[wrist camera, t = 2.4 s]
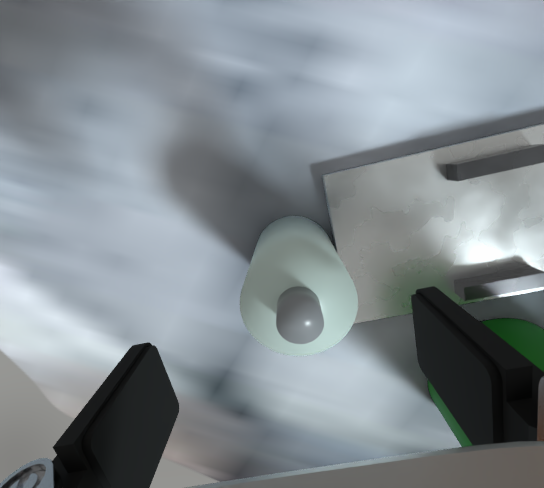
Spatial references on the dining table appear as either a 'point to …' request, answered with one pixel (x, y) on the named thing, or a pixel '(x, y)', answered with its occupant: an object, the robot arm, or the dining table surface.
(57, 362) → the dining table surface
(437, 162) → the clip bracket
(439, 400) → the motor
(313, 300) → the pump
